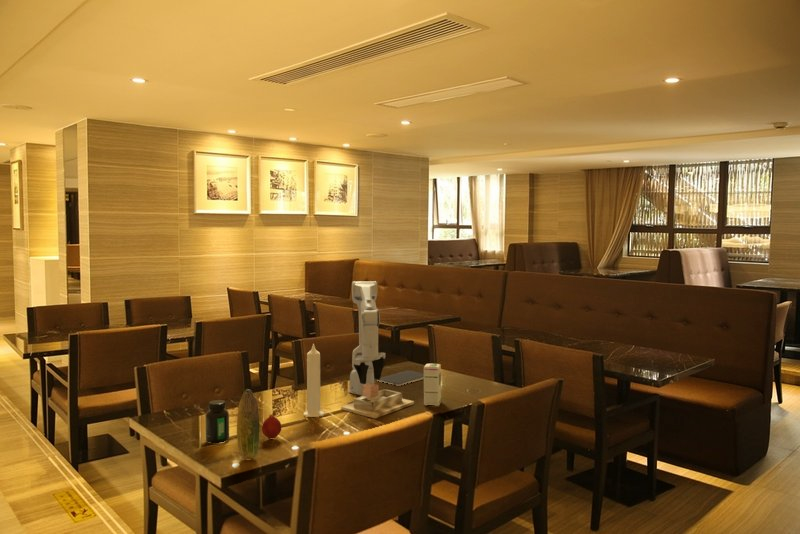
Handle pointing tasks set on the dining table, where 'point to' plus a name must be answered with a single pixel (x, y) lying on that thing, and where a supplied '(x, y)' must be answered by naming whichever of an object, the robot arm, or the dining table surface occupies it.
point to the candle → (313, 384)
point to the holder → (378, 404)
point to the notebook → (402, 378)
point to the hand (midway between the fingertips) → (370, 381)
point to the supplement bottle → (217, 422)
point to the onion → (271, 427)
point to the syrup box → (432, 384)
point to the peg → (370, 391)
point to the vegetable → (248, 425)
